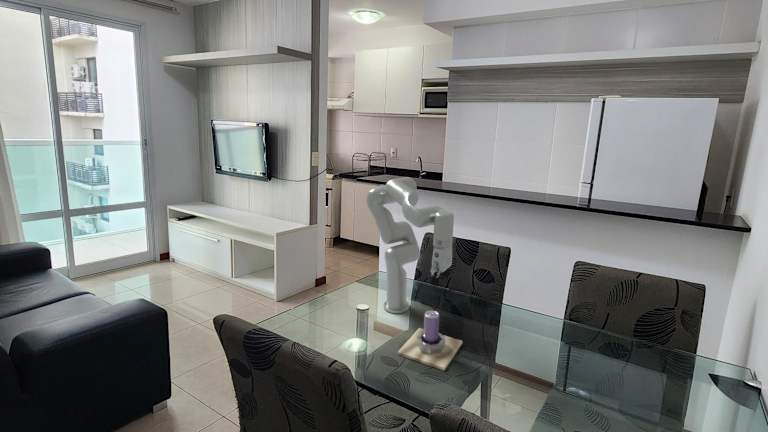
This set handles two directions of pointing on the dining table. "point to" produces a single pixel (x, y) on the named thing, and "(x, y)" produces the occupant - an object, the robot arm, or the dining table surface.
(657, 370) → the dining table surface
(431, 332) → the beverage can
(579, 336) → the dining table surface
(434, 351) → the rosette socket
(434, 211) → the robot arm
